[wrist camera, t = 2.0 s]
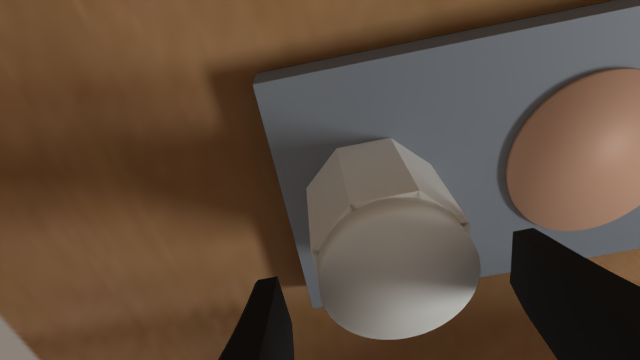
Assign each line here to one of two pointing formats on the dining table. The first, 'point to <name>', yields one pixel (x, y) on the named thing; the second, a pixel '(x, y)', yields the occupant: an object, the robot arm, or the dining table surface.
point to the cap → (388, 242)
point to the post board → (483, 126)
